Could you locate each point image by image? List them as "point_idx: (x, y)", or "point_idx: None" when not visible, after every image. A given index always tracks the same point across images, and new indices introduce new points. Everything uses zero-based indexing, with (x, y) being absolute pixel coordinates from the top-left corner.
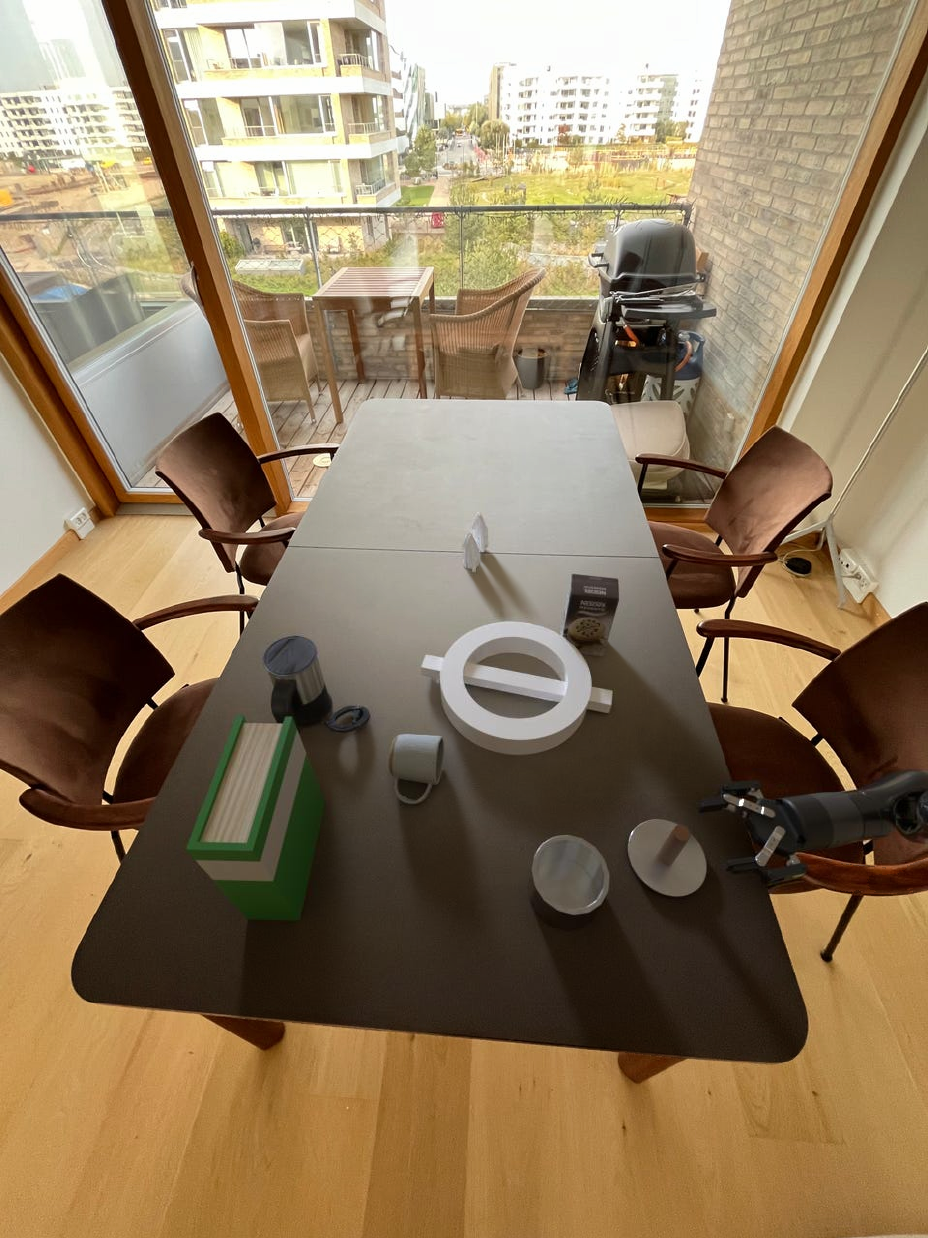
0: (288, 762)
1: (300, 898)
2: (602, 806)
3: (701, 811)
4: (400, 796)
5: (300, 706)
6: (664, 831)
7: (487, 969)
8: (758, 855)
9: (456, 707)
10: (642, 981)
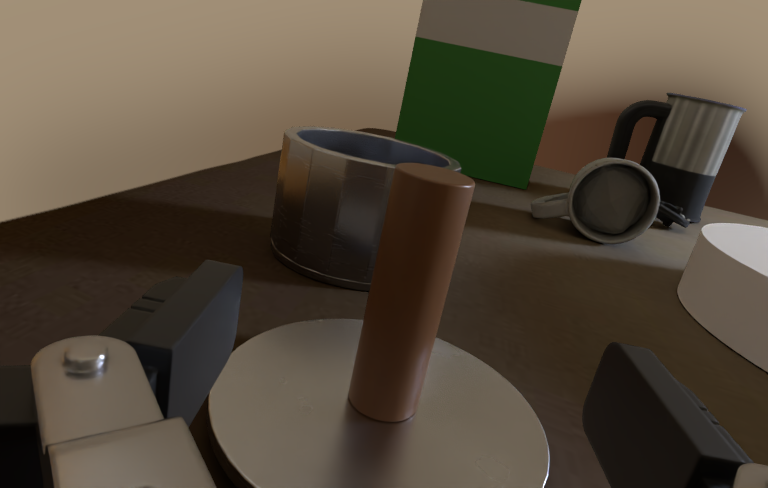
0: (534, 5)
1: None
2: (579, 375)
3: (593, 407)
4: (541, 199)
5: (647, 158)
6: (490, 439)
7: (273, 186)
8: (147, 384)
9: (745, 227)
10: (99, 257)
